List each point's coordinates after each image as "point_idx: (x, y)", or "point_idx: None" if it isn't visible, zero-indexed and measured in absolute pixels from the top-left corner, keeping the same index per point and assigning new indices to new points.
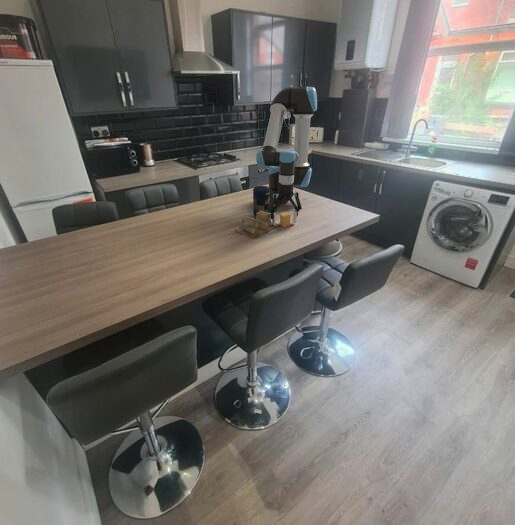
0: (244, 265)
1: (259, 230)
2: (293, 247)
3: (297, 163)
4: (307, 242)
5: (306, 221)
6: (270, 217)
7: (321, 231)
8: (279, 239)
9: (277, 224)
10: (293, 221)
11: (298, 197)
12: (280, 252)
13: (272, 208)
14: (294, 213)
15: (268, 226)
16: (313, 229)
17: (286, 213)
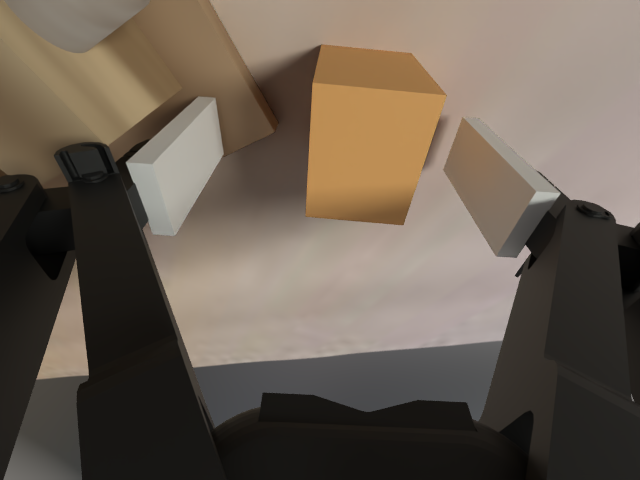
0: (52, 366)
1: (59, 178)
2: (261, 352)
3: None
4: (342, 347)
5: (614, 131)
6: (132, 126)
7: (505, 305)
8: (217, 290)
9: (257, 127)
10: (457, 137)
11: None
12: (195, 357)
13: (58, 300)
14: (493, 206)
15: (150, 134)
16: (492, 273)
17: (406, 136)
